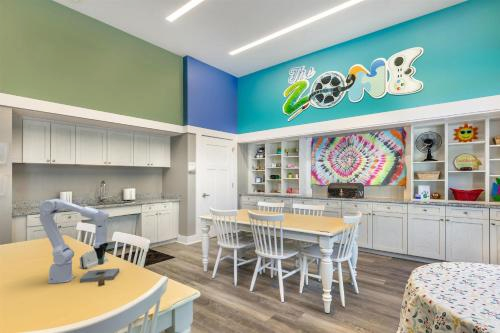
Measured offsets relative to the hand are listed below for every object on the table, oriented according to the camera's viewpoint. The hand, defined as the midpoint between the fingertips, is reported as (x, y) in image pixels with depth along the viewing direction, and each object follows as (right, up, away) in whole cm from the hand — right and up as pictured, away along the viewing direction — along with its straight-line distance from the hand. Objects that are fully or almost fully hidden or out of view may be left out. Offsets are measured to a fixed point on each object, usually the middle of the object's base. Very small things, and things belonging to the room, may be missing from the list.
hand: (100, 257), depth 142 cm
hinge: (-17, -12, +20) cm, 29 cm away
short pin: (+7, -10, -11) cm, 16 cm away
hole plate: (0, -10, 0) cm, 10 cm away
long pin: (0, -3, 0) cm, 3 cm away
